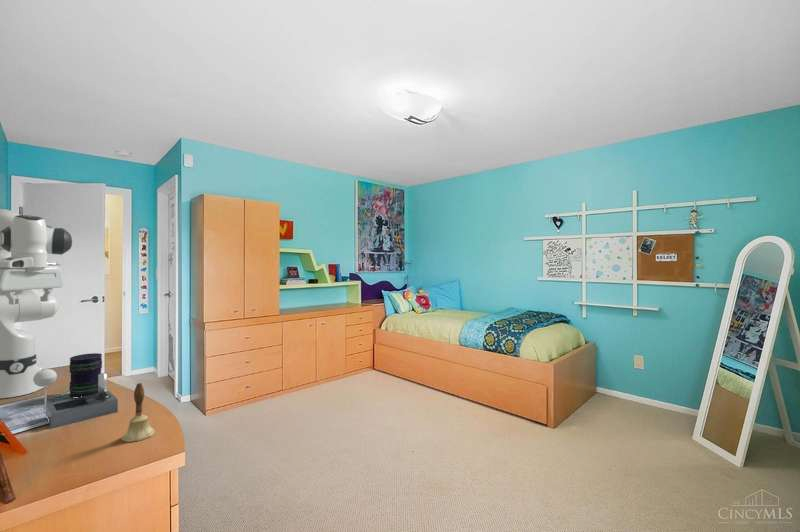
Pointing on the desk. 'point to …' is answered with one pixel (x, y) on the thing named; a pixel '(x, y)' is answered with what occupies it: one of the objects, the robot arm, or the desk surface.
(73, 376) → the storage jar
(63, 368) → the desk surface
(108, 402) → the grey stand
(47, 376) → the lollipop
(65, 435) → the desk surface
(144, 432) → the hand bell
